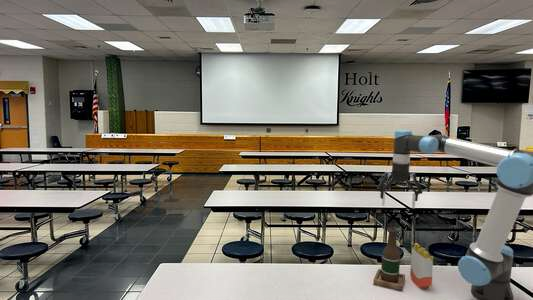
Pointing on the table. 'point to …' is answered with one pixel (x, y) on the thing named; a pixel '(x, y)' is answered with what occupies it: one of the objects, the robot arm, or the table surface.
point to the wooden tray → (389, 285)
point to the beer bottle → (391, 259)
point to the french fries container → (421, 267)
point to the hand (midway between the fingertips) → (398, 206)
